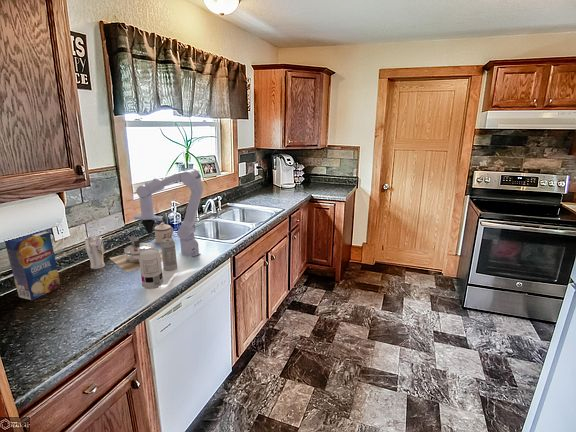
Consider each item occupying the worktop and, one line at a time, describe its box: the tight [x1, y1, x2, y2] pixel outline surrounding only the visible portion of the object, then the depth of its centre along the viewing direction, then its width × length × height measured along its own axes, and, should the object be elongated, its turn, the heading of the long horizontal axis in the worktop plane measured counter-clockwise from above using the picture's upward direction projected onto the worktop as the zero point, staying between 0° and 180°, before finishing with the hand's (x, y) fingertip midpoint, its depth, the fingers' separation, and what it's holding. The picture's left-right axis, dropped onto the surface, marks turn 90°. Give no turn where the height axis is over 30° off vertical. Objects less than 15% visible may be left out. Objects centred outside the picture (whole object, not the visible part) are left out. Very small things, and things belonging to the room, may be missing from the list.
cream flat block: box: [124, 252, 139, 264], centre depth 164 cm, size 20×13×4 cm, turn 36°
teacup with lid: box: [153, 221, 174, 244], centre depth 188 cm, size 12×9×12 cm
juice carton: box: [4, 230, 62, 301], centre depth 131 cm, size 12×8×24 cm, turn 161°
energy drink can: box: [160, 237, 178, 272], centre depth 151 cm, size 6×6×15 cm
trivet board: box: [109, 247, 163, 273], centre depth 164 cm, size 22×22×1 cm
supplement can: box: [139, 248, 164, 290], centre depth 138 cm, size 8×8×15 cm
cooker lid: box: [123, 235, 155, 255], centre depth 164 cm, size 19×14×3 cm
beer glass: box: [84, 235, 106, 270], centre depth 153 cm, size 7×7×15 cm
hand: (149, 233), depth 171 cm, fingers closed
